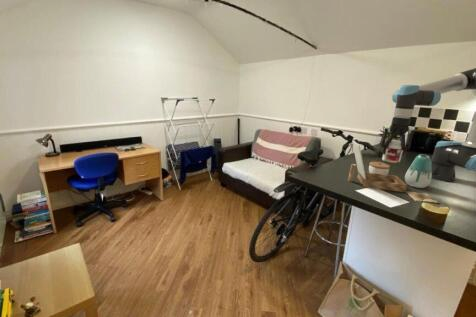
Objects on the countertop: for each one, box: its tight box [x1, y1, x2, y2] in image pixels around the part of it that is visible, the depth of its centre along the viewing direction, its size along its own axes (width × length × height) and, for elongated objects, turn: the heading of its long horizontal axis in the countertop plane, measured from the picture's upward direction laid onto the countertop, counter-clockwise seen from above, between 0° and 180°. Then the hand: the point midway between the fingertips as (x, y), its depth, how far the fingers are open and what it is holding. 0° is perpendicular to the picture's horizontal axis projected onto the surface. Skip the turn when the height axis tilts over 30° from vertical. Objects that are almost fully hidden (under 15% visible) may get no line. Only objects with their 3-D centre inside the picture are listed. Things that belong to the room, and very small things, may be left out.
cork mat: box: [405, 190, 436, 203], centre depth 113 cm, size 10×10×1 cm
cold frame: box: [347, 163, 409, 193], centre depth 126 cm, size 26×14×10 cm, turn 78°
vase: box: [404, 153, 433, 189], centre depth 125 cm, size 12×12×18 cm
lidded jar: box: [368, 161, 391, 175], centre depth 138 cm, size 11×11×9 cm
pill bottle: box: [384, 139, 401, 164], centre depth 120 cm, size 6×6×11 cm
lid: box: [351, 140, 366, 179], centre depth 126 cm, size 19×13×1 cm
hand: (390, 160), depth 121 cm, fingers closed on pill bottle, 6 cm apart
